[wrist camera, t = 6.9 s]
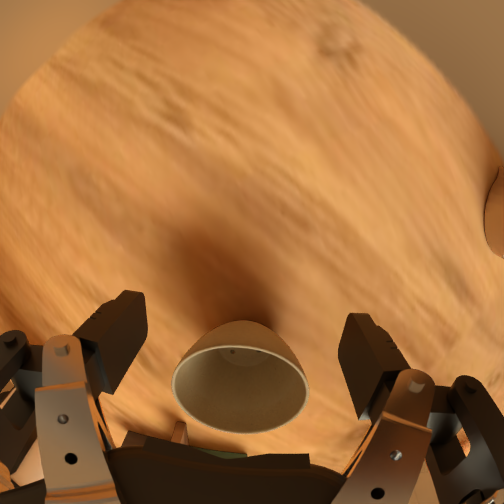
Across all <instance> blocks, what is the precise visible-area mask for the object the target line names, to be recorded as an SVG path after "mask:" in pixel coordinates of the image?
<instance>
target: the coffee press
mask: <svg viewBox="0 0 504 504" xmlns="http://www.w3.org/2000/svg"><path fill="white" fill-rule="evenodd" d="M15 390H16V388H15V386H14V387H13V388H12V389H11V391H7V392H3V393H1V394H0V408H1V409H2V408H3V406H4V405H5V404H6V402H7V401H8V399H9V398H10V397H11V395H12V394H13V393H14V391H15ZM10 477H11V483H12V484H13V485H14V488H17V487H20V486H23V485H26V484H29V483H32V482H35V481H38V480H41V479H43V478H44V475H43V470H42V464H41V459H40V452H39V445H38V437H37V426H35V428H34V430H33V431H32V433H31V435H30V436H29V438H28V440H27V442H26V443H25V445H24V447H23V449H22V451H21V453H20V454H19V456H18V458H17V460H16V462H15V464H14V466H13V468H12V470H11V472H10Z"/></svg>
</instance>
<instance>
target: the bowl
mask: <svg viewBox="0 0 504 504" xmlns="http://www.w3.org/2000/svg"><path fill="white" fill-rule="evenodd" d="M232 352H235V353H232ZM171 386H172V392H173V395H174V398H175V400H176V401H177V403H178V405H179V406H180V407H181V408H182V410H183V411H184V412H185V413H186V414H188V415H189V416H190V417H191V418H193V419H194V420H196V421H197V422H199V423H201V424H203V425H205V426H207V427H210V428H212V429H215V430H219V431H222V432H227V433H234V434H258V433H264V432H268V431H272V430H275V429H278V428H280V427H282V426H284V425H286V424H288V423H290V422H291V421H292V420H294V419H295V418H296V417H297V416H298V415H299V414H300V413H301V412H302V411H303V409H304V408H305V406H306V404H307V402H308V398H309V385H308V382H307V379H306V376H305V373H304V371H303V369H302V367H301V365H300V363H299V361H298V359H297V358H296V356H295V354H294V353H293V352H292V350H291V349H290V348H289V346H288V345H287V344H286V343H285V342H284V341H283V340H282V339H281V338H280V337H279V336H278V335H277V334H276V333H275V332H273V331H272V330H270V329H269V328H267V327H265V326H264V325H261V324H259V323H256V322H253V321H248V320H238V321H233V322H229V323H226V324H223V325H221V326H219V327H217V328H215V329H213V330H211V331H210V332H208V333H207V334H205V335H204V336H203V337H202V338H200V339H199V340H198V341H197V342H196V343H195V344H194V345H193V346H192V347H191V348H190V349H189V350H188V352H187V353H186V354H185V355H184V357H183V358H182V359H181V361H180V362H179V364H178V365H177V367H176V369H175V371H174V373H173V376H172V381H171Z"/></svg>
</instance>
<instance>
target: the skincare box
mask: <svg viewBox="0 0 504 504" xmlns="http://www.w3.org/2000/svg"><path fill="white" fill-rule="evenodd" d="M408 504H439V501H438V498H437V494H436V491H435V487H434V484H433V481H432V478H431V475H430V473H429V470H428V468H427V465H426V462H425V460H424V463H423V466H422V469H421V472H420V474H419V477H418V480H417V483H416V485H415V488H414V490H413V493H412V495H411V498H410V500H409V502H408Z"/></svg>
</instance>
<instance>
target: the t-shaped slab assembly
mask: <svg viewBox="0 0 504 504" xmlns="http://www.w3.org/2000/svg"><path fill="white" fill-rule="evenodd" d="M146 438H147V436H145V435H141V434H138V433H135V432H131V431H128V432H127V435H126V437H125V439H124V441H123V443H122V446H121V447H124V446H135V445H143V446H144V443H145V441H146ZM171 442H176V443H181V444H186V445H188V446H189V442H188V435H187V427H186V423H182V422H177V423H176V426H175V429H174V432H173V436H172V439H171ZM190 447H191V446H190ZM193 448H196V449H198V450H201V451H203V452H206V453H209V454H212V455H215V456H218V457H221V458H224V459H233V458H242V457H247V454H239V453H230V452H222V451H215V450H208V449H202V448H197V447H193Z"/></svg>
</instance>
